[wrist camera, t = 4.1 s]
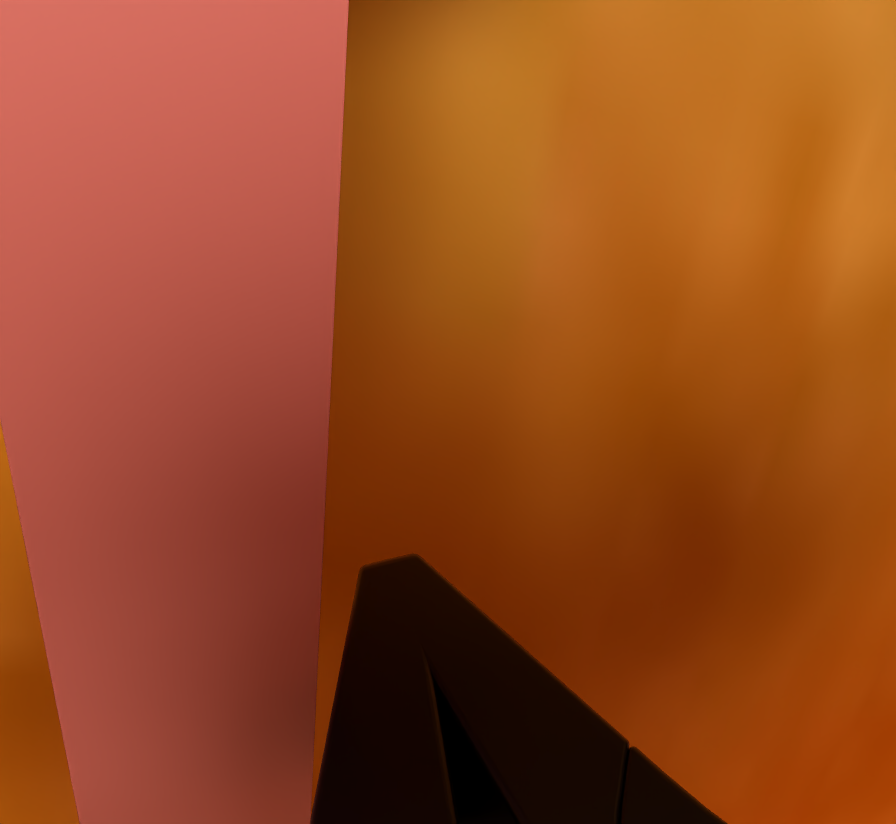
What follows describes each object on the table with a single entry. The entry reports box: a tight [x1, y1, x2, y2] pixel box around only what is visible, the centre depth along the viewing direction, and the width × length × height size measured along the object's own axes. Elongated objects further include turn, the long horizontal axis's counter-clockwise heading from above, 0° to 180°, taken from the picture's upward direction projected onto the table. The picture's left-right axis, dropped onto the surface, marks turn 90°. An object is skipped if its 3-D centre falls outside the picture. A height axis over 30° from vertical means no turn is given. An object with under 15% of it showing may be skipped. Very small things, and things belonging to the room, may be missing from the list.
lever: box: [0, 0, 349, 824], centre depth 6 cm, size 14×3×2 cm, turn 173°
